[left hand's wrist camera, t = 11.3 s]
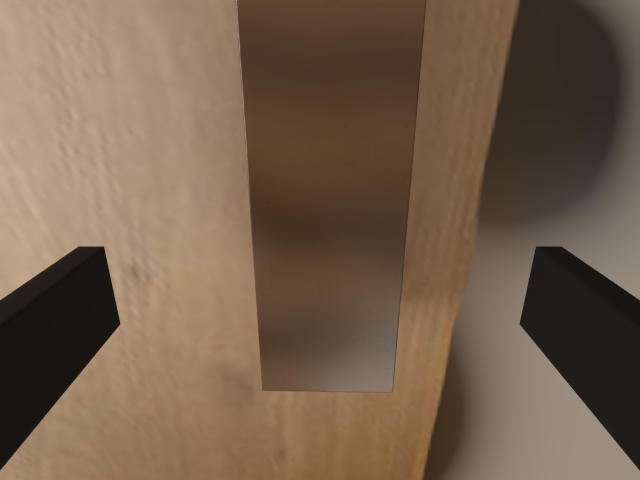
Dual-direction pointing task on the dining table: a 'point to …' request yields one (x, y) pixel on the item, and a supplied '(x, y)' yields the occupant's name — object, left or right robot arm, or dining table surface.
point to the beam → (329, 183)
